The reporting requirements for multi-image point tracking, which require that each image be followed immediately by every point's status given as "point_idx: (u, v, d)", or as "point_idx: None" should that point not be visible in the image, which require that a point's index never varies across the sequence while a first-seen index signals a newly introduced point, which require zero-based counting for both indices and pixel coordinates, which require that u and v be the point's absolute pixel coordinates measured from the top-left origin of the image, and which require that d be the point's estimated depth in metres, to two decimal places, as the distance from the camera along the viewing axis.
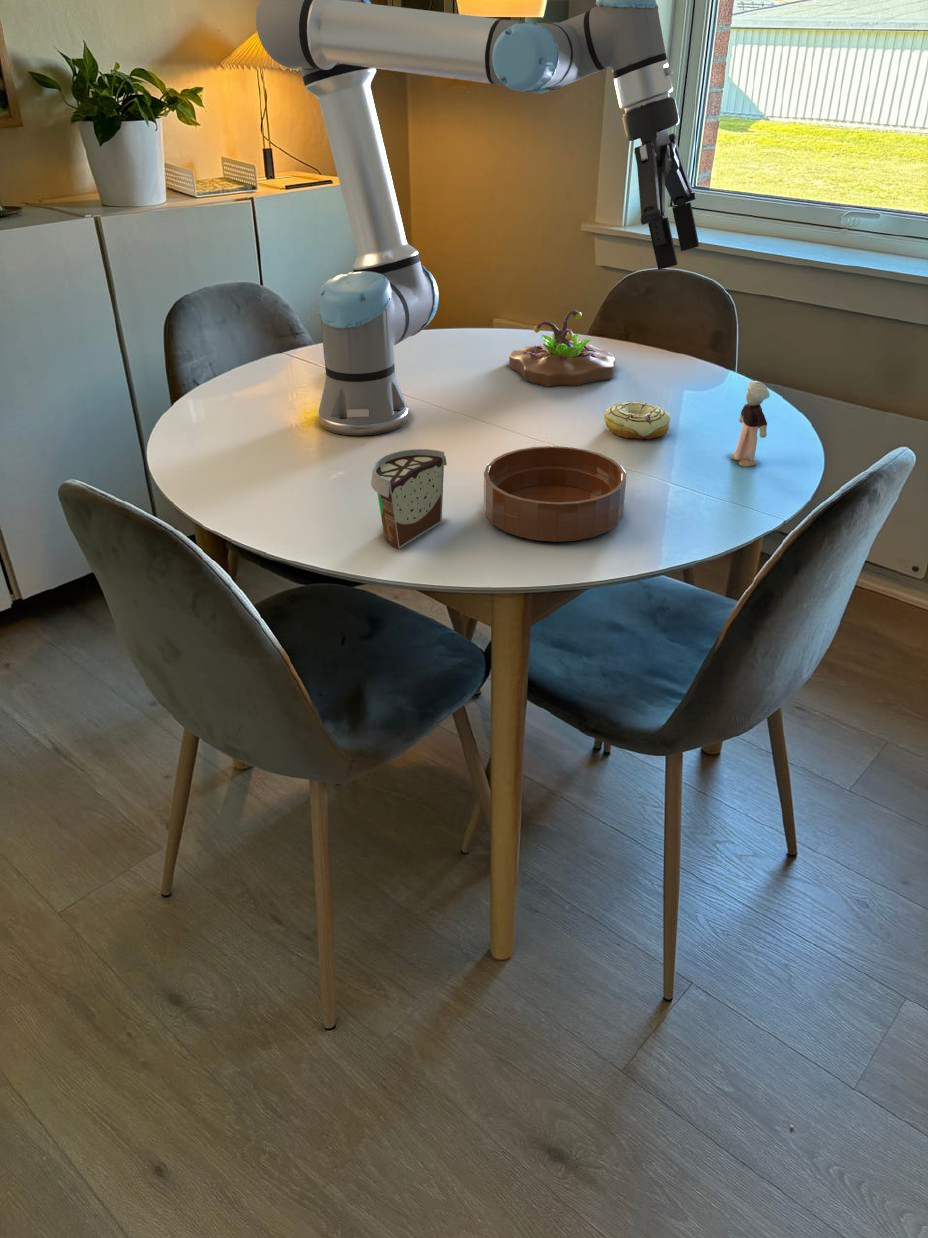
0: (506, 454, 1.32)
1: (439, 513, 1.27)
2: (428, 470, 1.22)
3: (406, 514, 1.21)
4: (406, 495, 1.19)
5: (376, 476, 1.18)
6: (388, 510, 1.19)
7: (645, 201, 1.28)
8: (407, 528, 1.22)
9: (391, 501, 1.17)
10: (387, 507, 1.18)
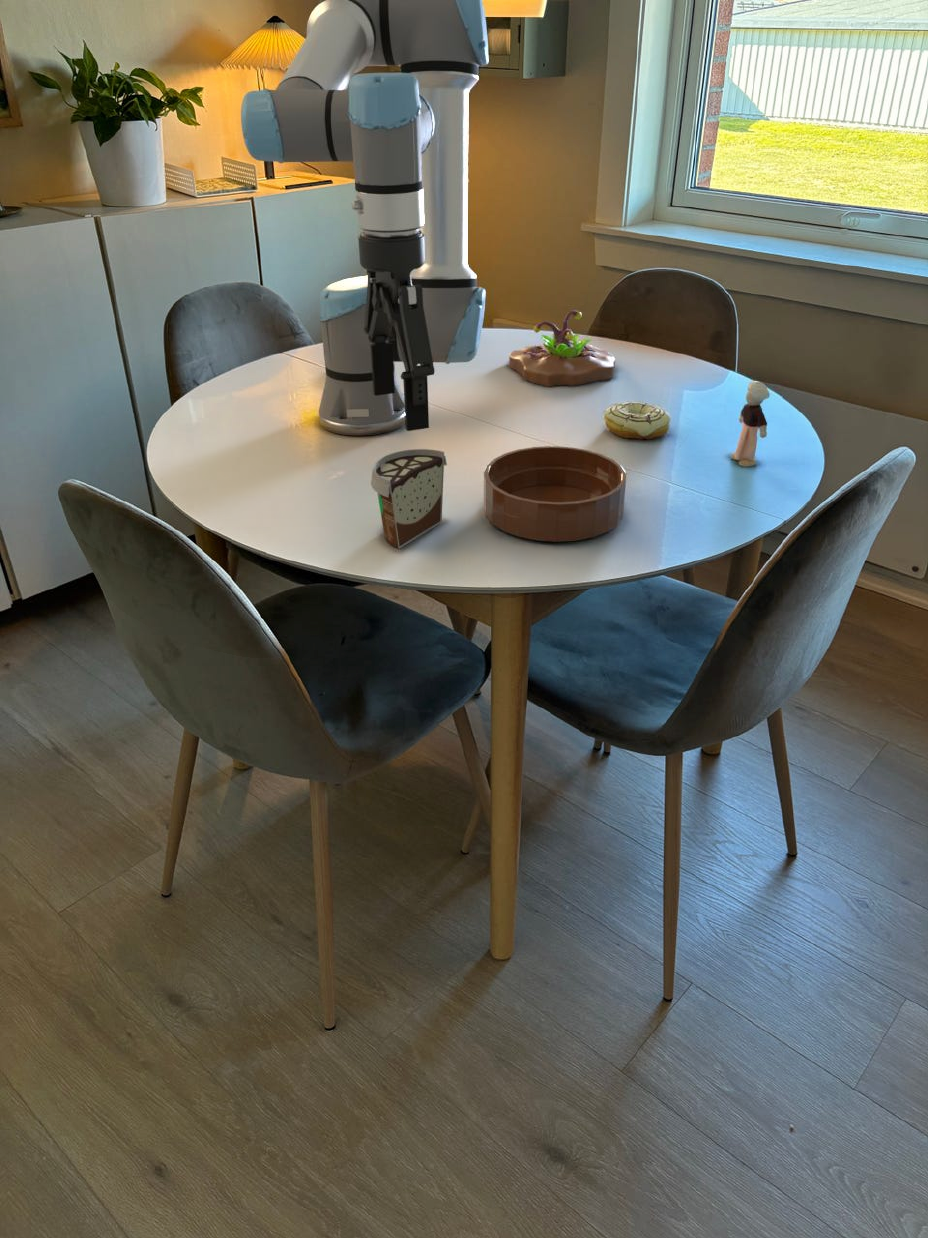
0: (506, 454, 1.32)
1: (439, 513, 1.27)
2: (428, 470, 1.22)
3: (406, 514, 1.21)
4: (406, 495, 1.19)
5: (376, 476, 1.18)
6: (388, 510, 1.19)
7: None
8: (407, 528, 1.22)
9: (391, 501, 1.17)
10: (387, 507, 1.18)
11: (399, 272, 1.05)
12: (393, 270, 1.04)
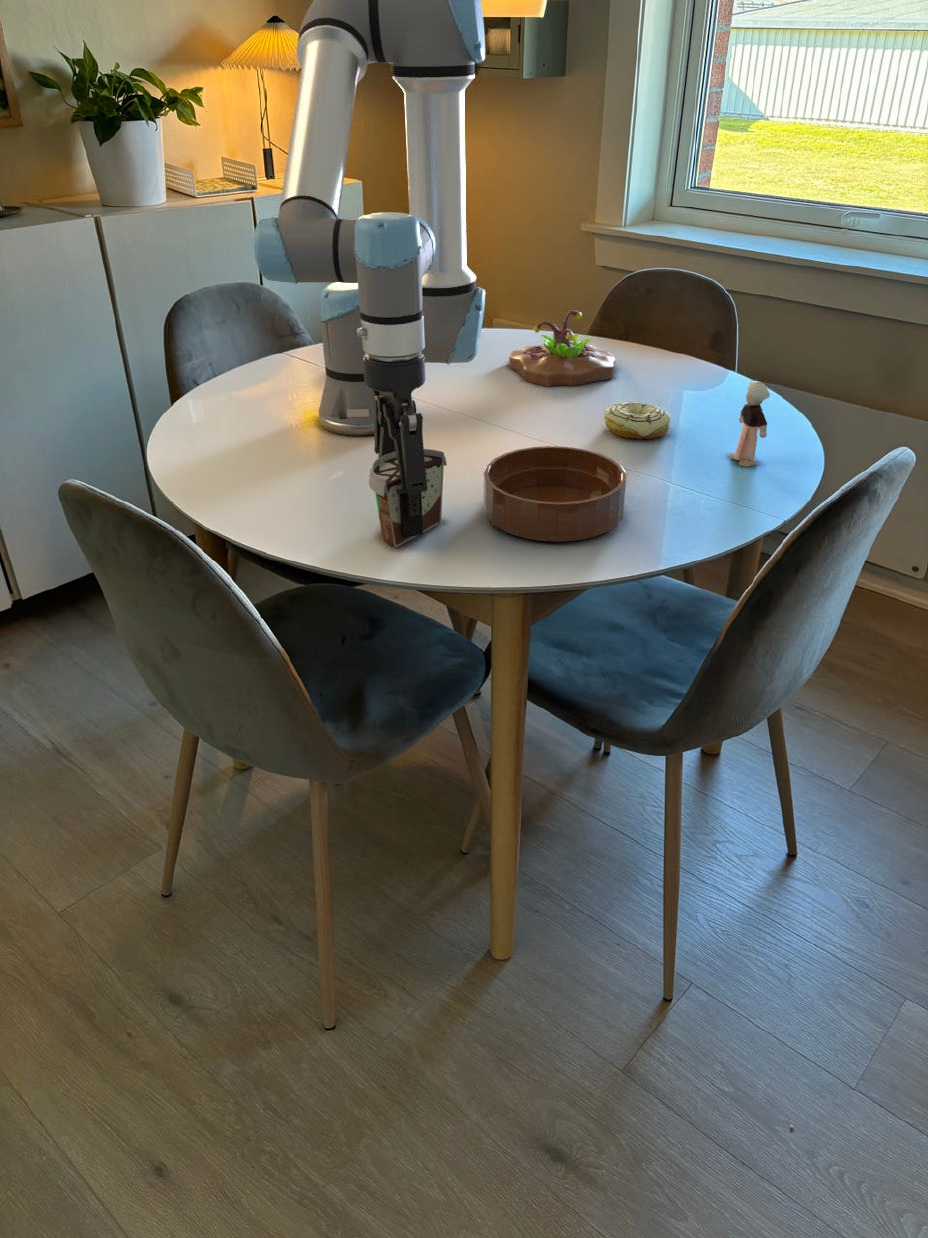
0: (506, 454, 1.32)
1: (438, 513, 1.27)
2: (426, 470, 1.22)
3: None
4: None
5: (373, 475, 1.18)
6: (384, 509, 1.19)
7: None
8: None
9: (387, 500, 1.17)
10: (383, 506, 1.19)
11: (401, 393, 1.12)
12: (395, 391, 1.12)
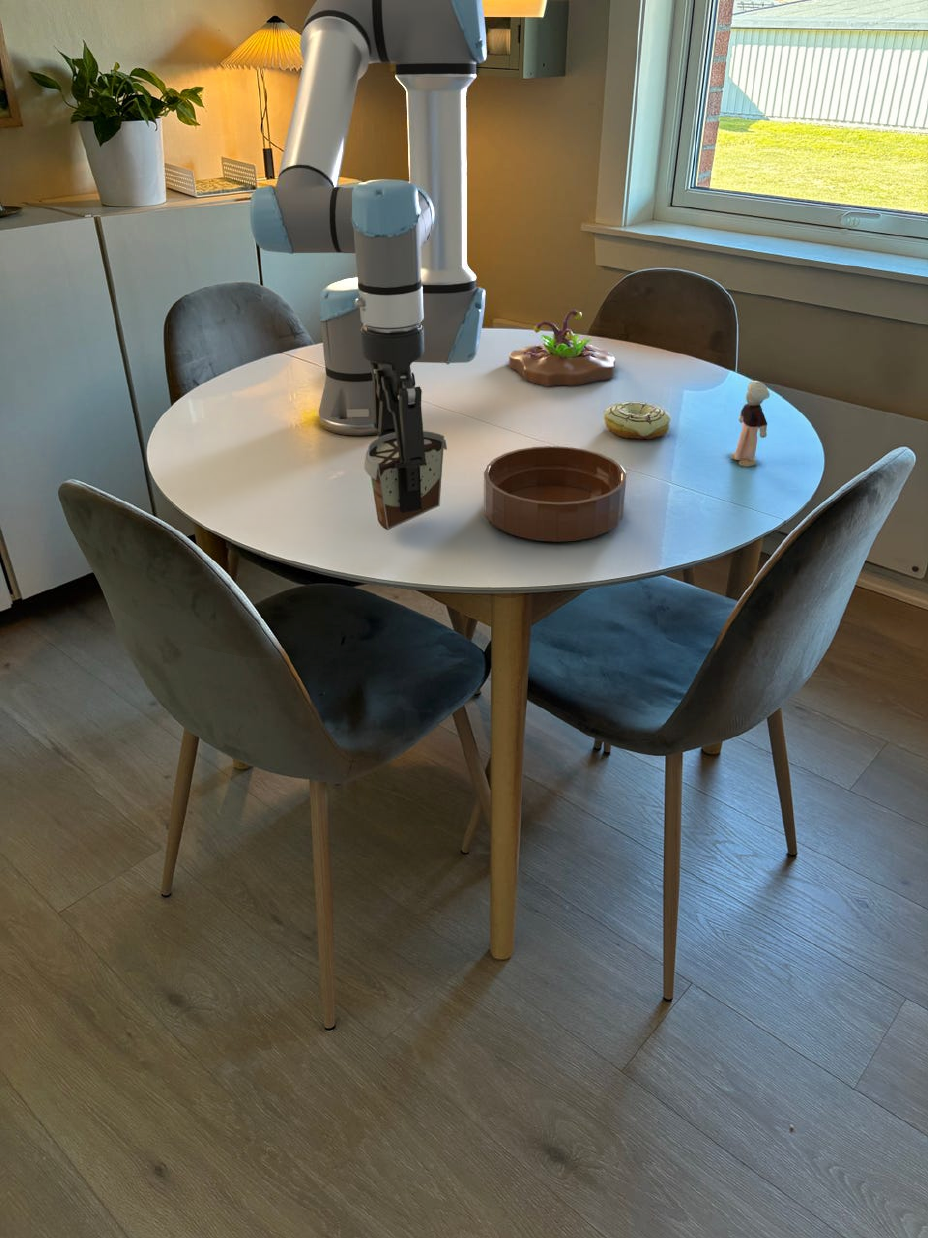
0: (506, 454, 1.32)
1: (437, 496, 1.25)
2: None
3: (397, 496, 1.20)
4: None
5: (368, 456, 1.17)
6: (378, 492, 1.18)
7: None
8: (398, 510, 1.21)
9: (379, 483, 1.17)
10: (377, 488, 1.18)
11: (400, 365, 1.10)
12: (394, 363, 1.10)
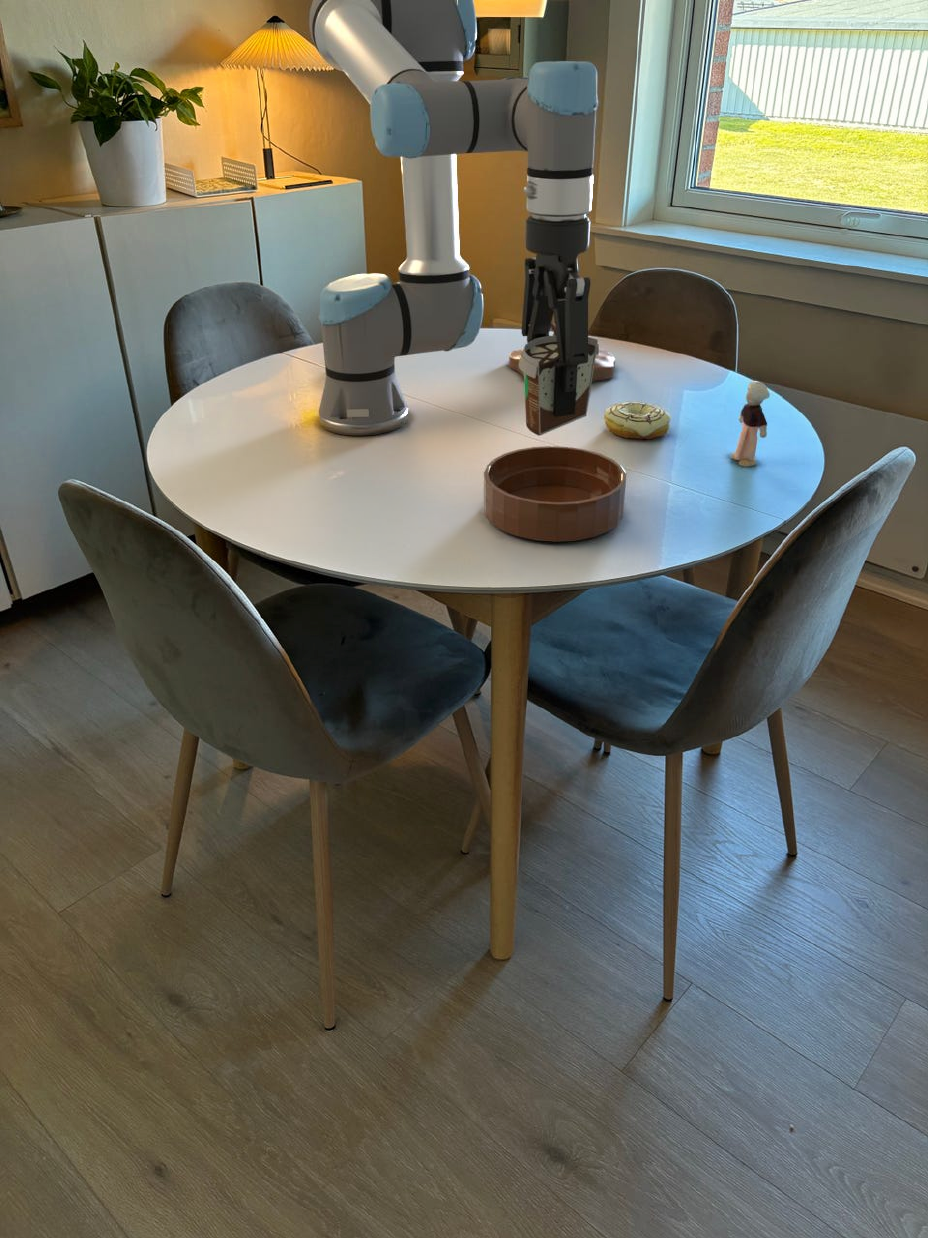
0: (506, 454, 1.32)
1: (585, 405, 1.22)
2: None
3: (551, 400, 1.17)
4: (554, 379, 1.16)
5: (525, 356, 1.14)
6: (533, 393, 1.15)
7: None
8: (550, 415, 1.18)
9: (537, 383, 1.14)
10: (533, 389, 1.15)
11: (567, 255, 1.08)
12: (562, 253, 1.07)
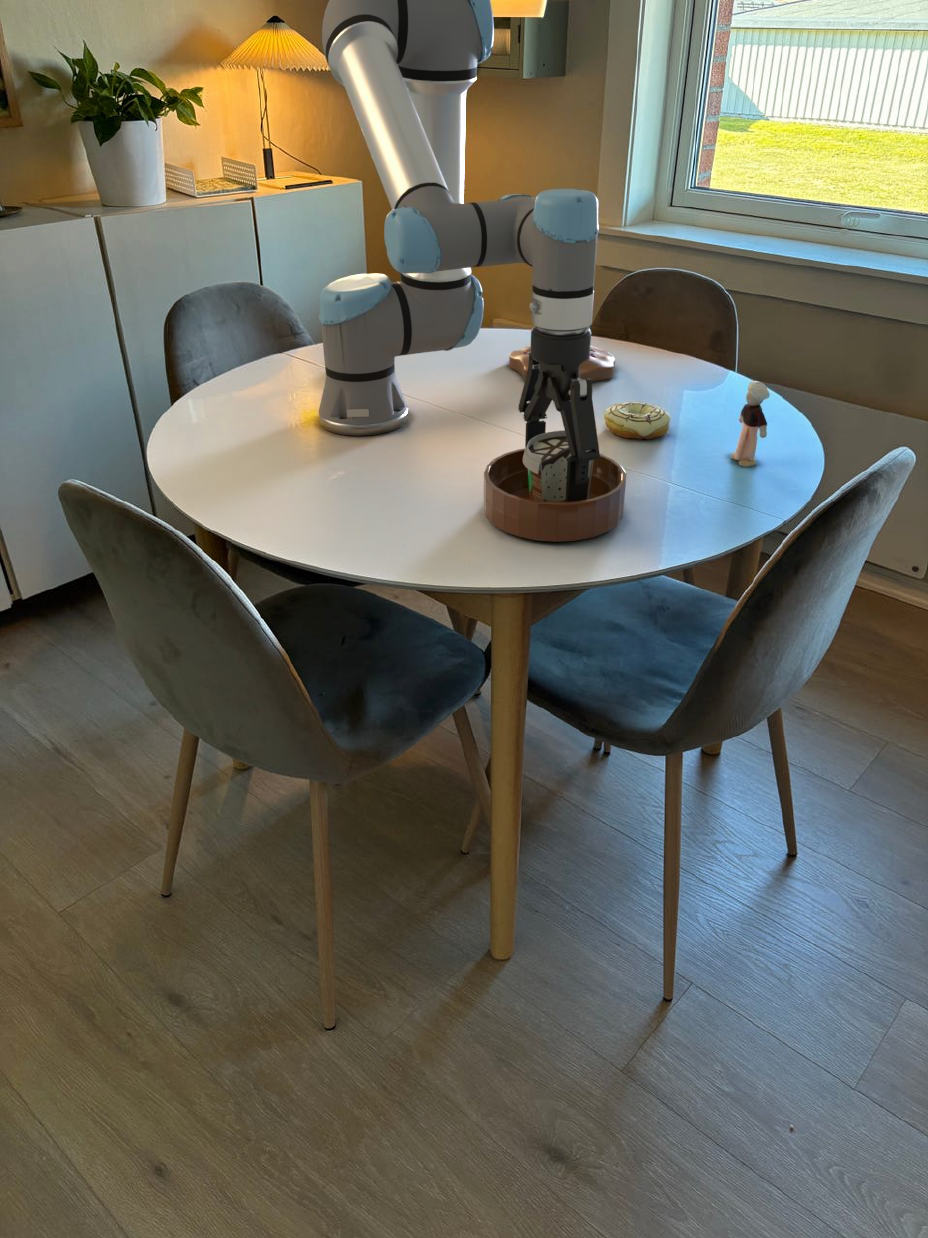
0: (506, 454, 1.32)
1: None
2: None
3: (554, 492, 1.24)
4: (556, 473, 1.23)
5: (528, 453, 1.22)
6: (537, 487, 1.23)
7: None
8: None
9: (540, 478, 1.21)
10: (536, 483, 1.22)
11: (570, 366, 1.15)
12: (565, 364, 1.15)
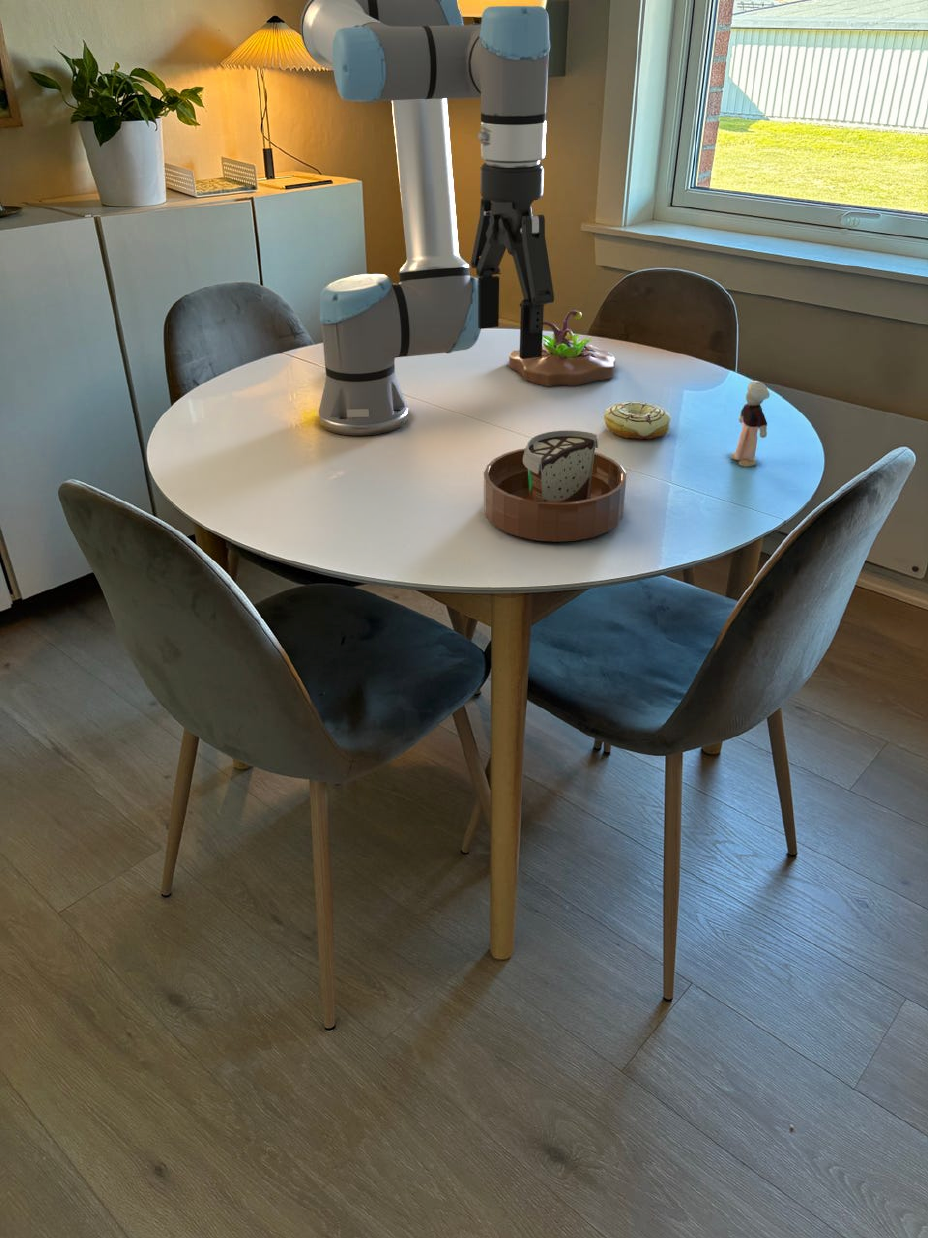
0: (506, 454, 1.32)
1: (586, 494, 1.30)
2: (579, 451, 1.25)
3: (554, 492, 1.24)
4: (556, 473, 1.23)
5: (528, 453, 1.22)
6: (537, 487, 1.23)
7: None
8: None
9: (540, 478, 1.21)
10: (536, 483, 1.22)
11: (522, 202, 1.09)
12: (516, 200, 1.09)
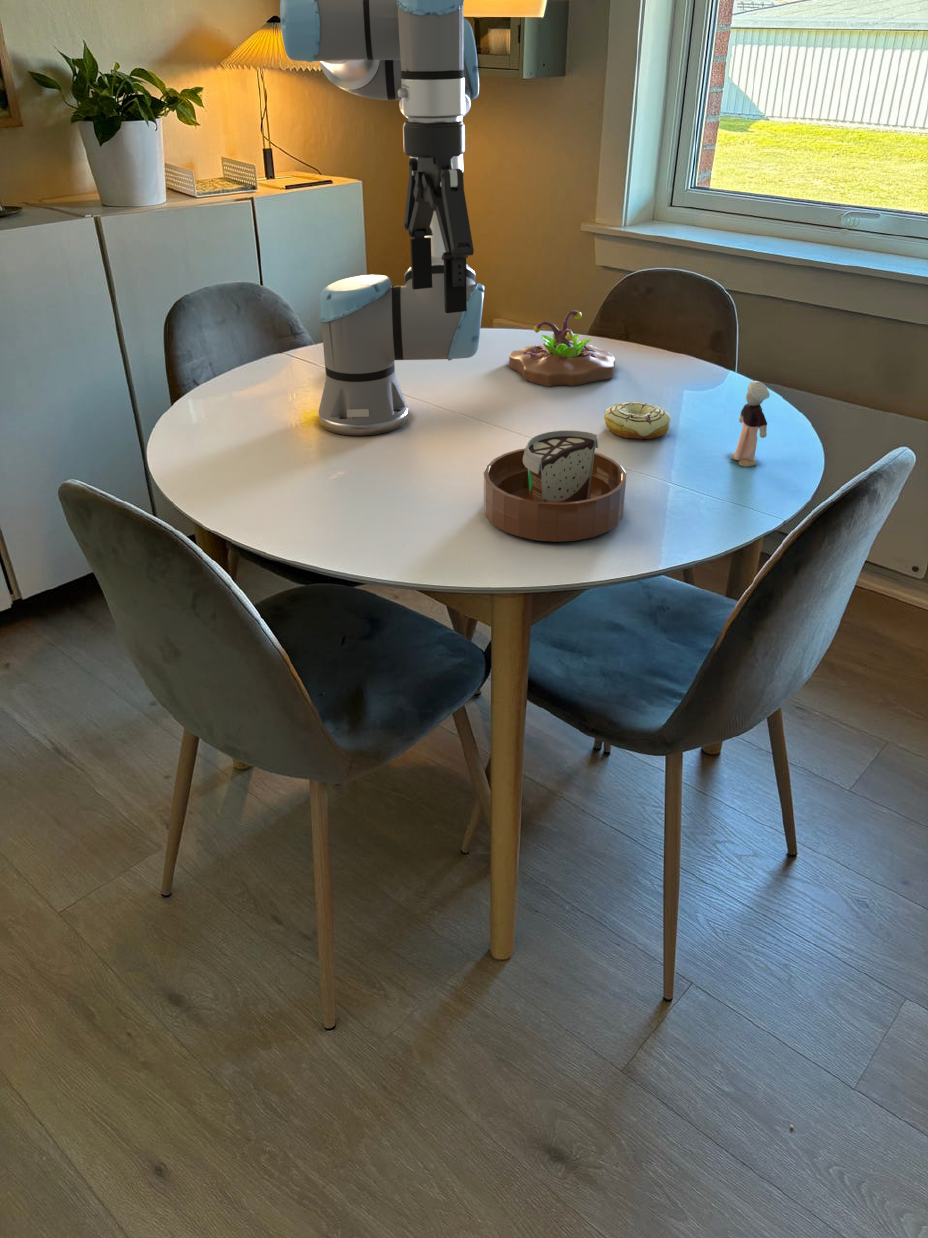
0: (506, 454, 1.32)
1: (586, 494, 1.30)
2: (579, 451, 1.25)
3: (554, 492, 1.24)
4: (556, 473, 1.23)
5: (528, 453, 1.22)
6: (537, 487, 1.23)
7: None
8: None
9: (540, 478, 1.21)
10: (536, 483, 1.22)
11: (441, 157, 1.12)
12: (436, 155, 1.11)
